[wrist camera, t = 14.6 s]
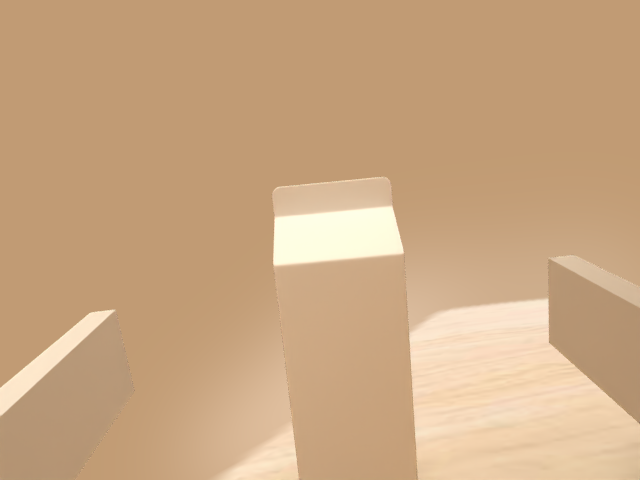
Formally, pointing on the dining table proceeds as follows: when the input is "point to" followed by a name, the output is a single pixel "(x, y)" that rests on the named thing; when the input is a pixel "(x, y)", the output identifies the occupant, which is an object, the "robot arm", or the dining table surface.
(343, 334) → the milk
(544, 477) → the dining table surface
